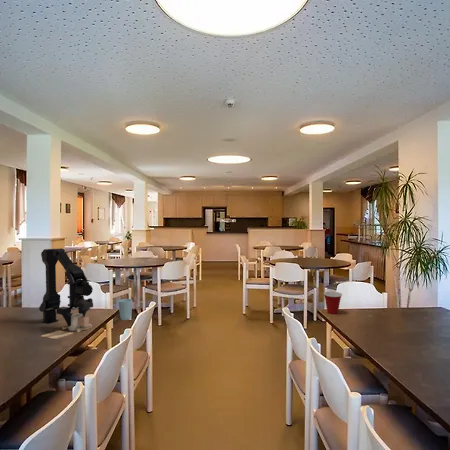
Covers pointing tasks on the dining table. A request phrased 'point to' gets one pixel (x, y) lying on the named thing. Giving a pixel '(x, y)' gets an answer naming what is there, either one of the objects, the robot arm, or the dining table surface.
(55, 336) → the coaster
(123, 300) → the cup
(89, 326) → the beige u-shaped bar frame
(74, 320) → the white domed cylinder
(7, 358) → the dining table surface
